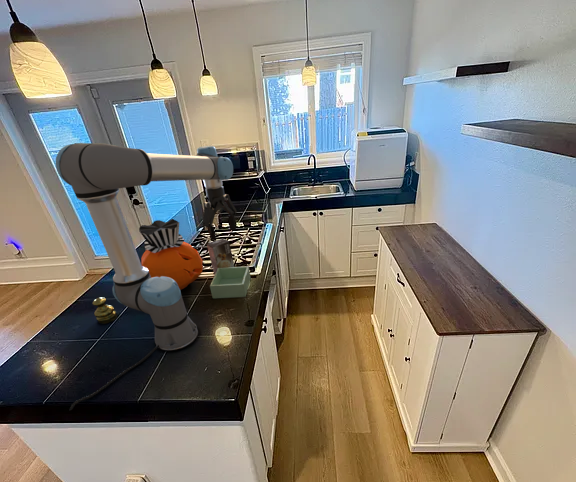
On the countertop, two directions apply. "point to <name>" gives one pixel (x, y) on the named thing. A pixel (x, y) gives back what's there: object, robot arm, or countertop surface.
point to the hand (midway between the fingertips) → (223, 234)
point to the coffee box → (220, 254)
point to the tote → (230, 282)
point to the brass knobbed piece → (104, 311)
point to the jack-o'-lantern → (170, 253)
